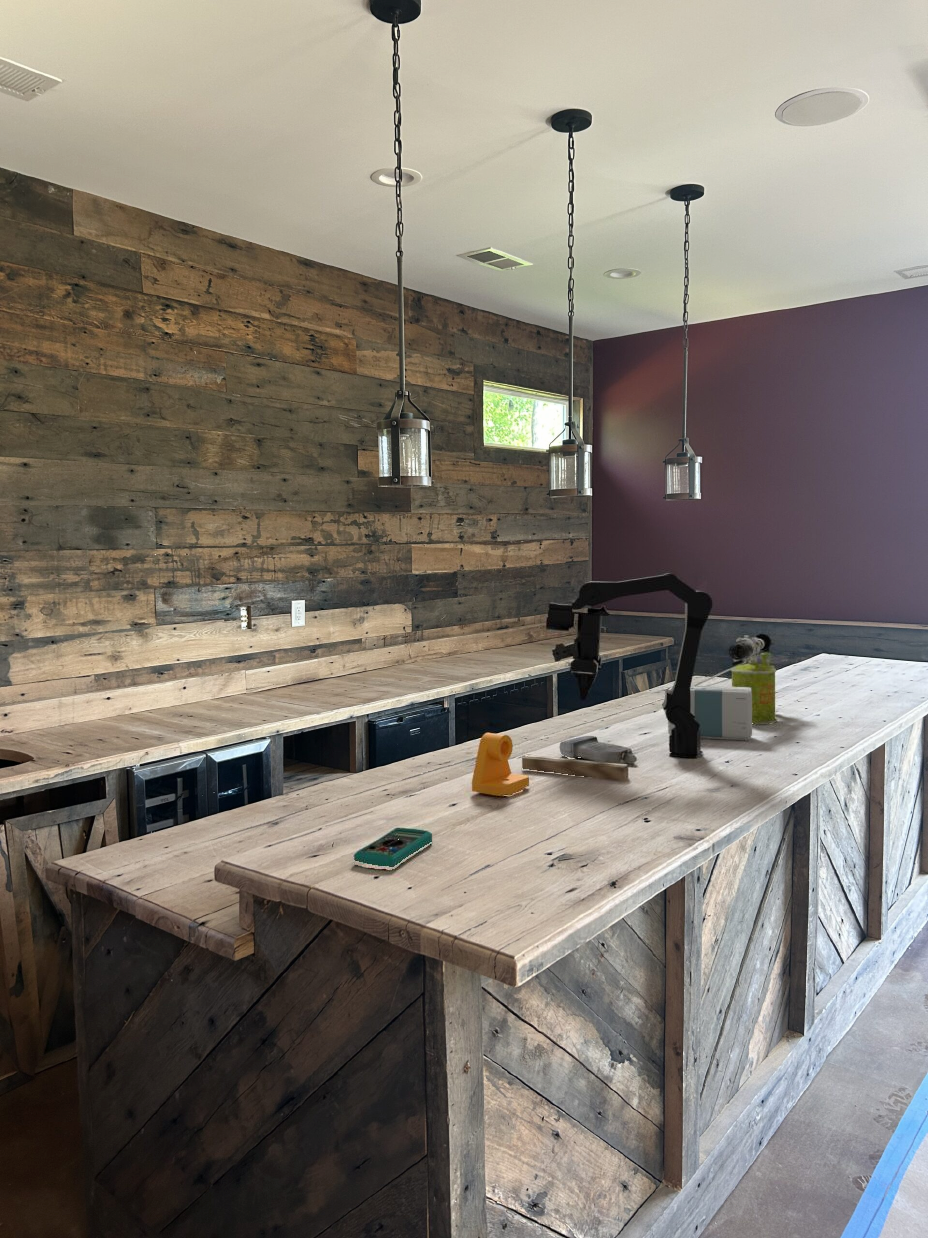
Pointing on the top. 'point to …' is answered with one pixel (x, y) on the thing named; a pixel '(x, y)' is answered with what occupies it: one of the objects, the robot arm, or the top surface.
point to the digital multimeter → (393, 847)
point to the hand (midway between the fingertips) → (584, 697)
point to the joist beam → (577, 767)
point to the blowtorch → (755, 675)
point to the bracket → (496, 767)
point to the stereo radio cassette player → (721, 710)
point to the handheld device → (596, 750)
